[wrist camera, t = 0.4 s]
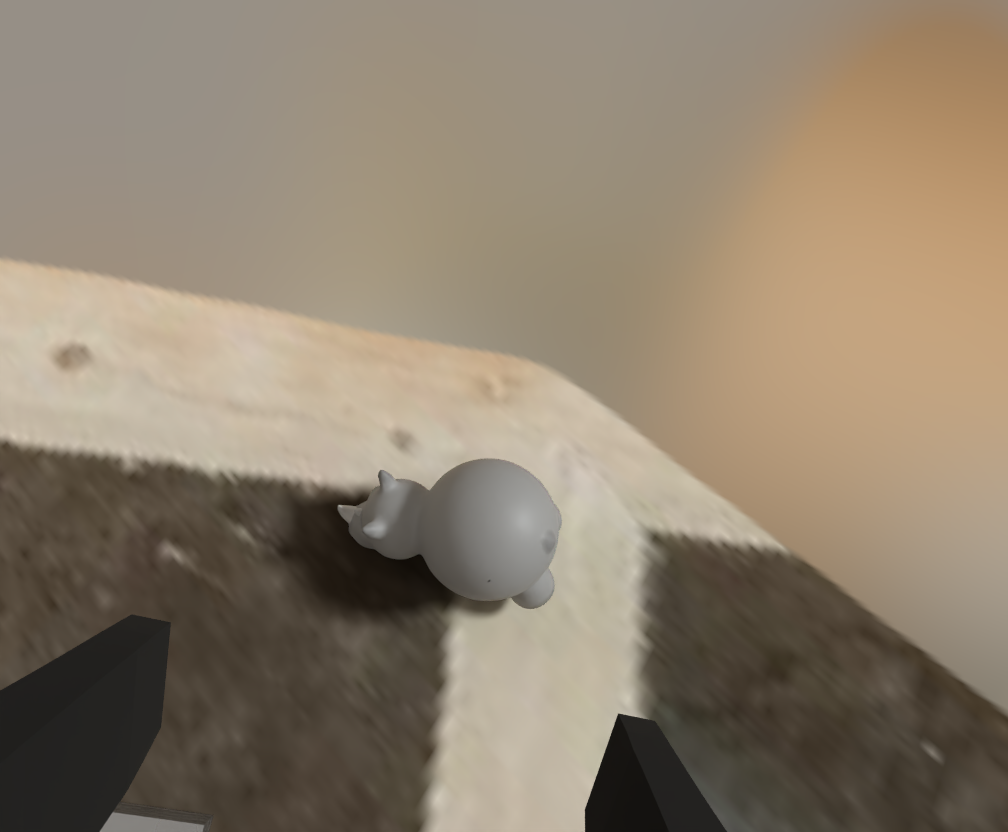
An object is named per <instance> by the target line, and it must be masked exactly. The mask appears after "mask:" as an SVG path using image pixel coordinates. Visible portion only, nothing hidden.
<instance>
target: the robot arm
mask: <svg viewBox="0 0 1008 832" xmlns="http://www.w3.org/2000/svg"><path fill="white" fill-rule="evenodd" d="M170 625H171V622H166V621H161V620H156V619H151V618H146V617H141V616H136V615H130V616H128V617H127V618H125V619H123V620H121V621H119V622H118V623H116V624H114V625H113V626H111V627H109V628H107V629H106V630H104V631H102V632H101V633H99V634H97V635H95V636H94V637H92V638H90V639H89V640H87V641H85V642H84V643H82V644H80V645H78V646H77V647H75V648H73V649H72V650H70V651H68V652H67V653H65V654H63V655H62V656H60V657H58V658H56V659H55V660H53V661H51V662H50V663H48V664H46V665H44V666H43V667H41V668H39V669H37V670H36V671H34V672H32V673H30V674H29V675H27V676H25V677H23V678H22V679H20V680H18V681H16V682H15V683H13V684H11V685H9V686H8V687H6V688H4V689H2V690H0V832H100V830H101V829H102V827H103V826H104V825H105V823H106V822H107V820H108V819H109V817H110V816H111V814H112V813H113V811H114V810H115V808H116V807H117V805H118V804H119V802H120V801H121V799H122V798H123V796H124V795H125V793H126V792H127V790H128V788H129V786H130V784H131V783H132V781H133V779H134V777H135V775H136V773H137V772H138V770H139V768H140V766H141V764H142V763H143V761H144V759H145V757H146V755H147V753H148V751H149V749H150V747H151V745H152V743H153V741H154V739H155V737H156V736H157V734H158V732H159V730H160V728H161V722H162V711H163V700H164V689H165V679H166V668H167V657H168V646H169V636H170ZM585 832H727V831H726V830H725V828H724V827H723V825H722V824H721V822H720V821H719V819H718V818H717V816H716V815H715V813H714V812H713V810H712V809H711V807H710V806H709V804H708V803H707V801H706V800H705V798H704V797H703V795H702V794H701V792H700V791H699V789H698V788H697V786H696V784H695V783H694V781H693V780H692V778H691V777H690V775H689V774H688V772H687V770H686V769H685V767H684V766H683V764H682V763H681V761H680V759H679V758H678V756H677V755H676V753H675V751H674V750H673V748H672V747H671V745H670V744H669V742H668V740H667V739H666V737H665V736H664V734H663V733H662V731H661V729H660V728H659V726H658V725H657V723H656V722H655V721H652V720H648V719H643V718H638V717H633V716H628V715H623V714H618V716H617V719H616V722H615V725H614V727H613V730H612V733H611V736H610V739H609V742H608V745H607V748H606V751H605V753H604V756H603V759H602V762H601V765H600V768H599V771H598V774H597V777H596V779H595V782H594V785H593V788H592V791H591V794H590V797H589V800H588V803H587V805H586V808H585Z"/></svg>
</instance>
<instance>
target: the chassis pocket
mask: <svg viewBox="0 0 1008 832" xmlns="http://www.w3.org/2000/svg"><path fill="white" fill-rule="evenodd" d="M212 818H213V815H208V814H201V813H194V812H187V811H180V810H173V809H166V808H159V807H152V806H145V805H138V804H131V803H124V802H119V804H118V805H117V807H116V808H115V810H114V811H113V813H112V814H111V816H110V817H109V819H108V820H107V822H106V823H105V825H104V826H103V827H102V829H101V830H100V832H209V829H210V825H211V822H212Z"/></svg>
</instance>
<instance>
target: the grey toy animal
mask: <svg viewBox="0 0 1008 832" xmlns="http://www.w3.org/2000/svg"><path fill="white" fill-rule="evenodd" d="M378 478H379V481H380V486H377V487H375V488H374V489H373V490H372V492H371V493H370V495H369V497H368V500H367V501H365V502H363V503H361V504H359V505H357V506H348V505H338V512H339V513H340V515H341V516H342V518H343V519H344V520H346V521H347V522H348V524H349V533H350V534H351V536H352V537H353V538H354V539H355V540H356V541H357V543H359V544H360V545H361V546H363V547H366V548H370V549H375V550H376V551H378V552H379V553H380V554H382V555H383V556H385V557H388V558H391V559H407V558H411V557H413V556H415V555H418V554H421V555H422V556H423V557H424V559H425V562H426V564H427V566H428V567H429V569H430V571H431V572H432V573H433V575H434V576H435V577H436V578H437V579H438V580H439V581H440V582H441V583H442V584H443V585H444V586H445V587H447V588H448V589H450V590H451V591H453V592H455V593H456V594H459V595H461V596H463V597H466V598H469V599H471V600H479V601H497V600H503V599H507V598H510V597H511V598H512V600H513V601H514V602H515V603H516V604H518V605H519V606H521V607H523V608H527V609H534V608H538V607H540V606H542V605H544V604H545V603H546V602H547V601H548V600H549V599H550V598H551V596H552V594H553V592H554V579H553V575H552V573H551V571H550V570H549V568H548V567H549V565H550V563H551V561H552V559H553V556H554V554H555V551H556V547H557V542H558V534H559V530H560V528H561V524H562V518H561V514H560V511H559V509H558V507H557V506H556V505H555V504H554V503H553V500H552V498H551V496H550V495H549V493H548V491H547V490H546V488H545V487H544V486H543V484H542V483H541V482H540V481H539V480H538V479H537V478H536V477H535V476H534V475H533V474H531V473H530V472H529V471H527V470H526V469H524V468H523V467H521V466H519V465H517V464H514V463H511V462H508V461H505V460H500V459H478V460H472V461H469V462H466V463H463V464H461V465H458V466H456V467H455V468H453V469H451V470H450V471H448V472H447V473H446V474H444V475H443V476H442V477H441V478H440V479H439V480H438V481H437V482H436V483H435V485H434V486H433V487H432V488H431V489H430V491H429V490H427V489H426V488H425V487H424V486H422V485H421V484H419V483H417V482H414V481H411V480H406V479H394V478H393V477H392V476H391V475H390V474H389V473H388V472H386V471H384V470H380V471H379V474H378Z"/></svg>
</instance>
